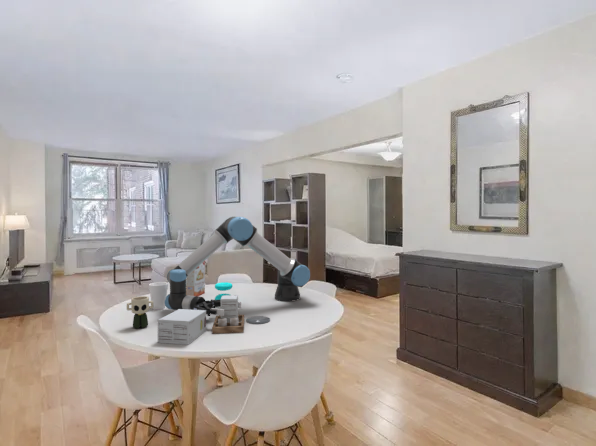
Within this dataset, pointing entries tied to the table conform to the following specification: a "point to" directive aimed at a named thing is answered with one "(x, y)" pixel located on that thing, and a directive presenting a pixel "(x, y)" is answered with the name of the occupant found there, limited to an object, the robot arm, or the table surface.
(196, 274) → the cracker box
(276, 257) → the robot arm
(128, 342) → the table surface
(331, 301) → the table surface
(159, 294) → the foam cup
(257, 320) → the coaster
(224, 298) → the supplement box
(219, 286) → the donuts
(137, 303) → the character mug
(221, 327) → the tray
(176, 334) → the supplement box
